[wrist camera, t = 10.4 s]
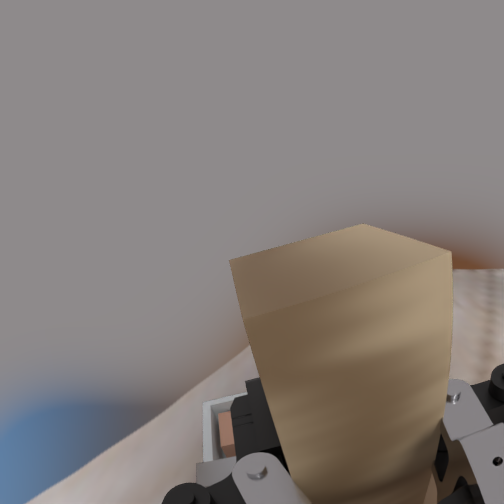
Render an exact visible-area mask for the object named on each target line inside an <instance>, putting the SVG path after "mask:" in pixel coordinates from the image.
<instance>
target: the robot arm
mask: <svg viewBox="0 0 504 504" xmlns="http://www.w3.org/2000/svg"><path fill="white" fill-rule="evenodd" d="M245 383H246V388H247V393H248V394H247V395H243V396H239V397H235V398H234V400H233V403H232V405H231V407H230V412H231V419H232V427H233V437H234V445H235V453H236V464H235V466H234V467H233V470H232V472H231V474H230V475H229V476H227V477H226V478H225V479H223V480H221V481H220V482H217V483H215V484H213V485H211V486H208V487H206V488H205V487H204V486H202V485H200V484H197V483H184V484H180V485H178V486H176V487H174V488H172V489H171V490H170V491H169V492H168V493H167V494H166V496H165V498H164V500H163V502H162V504H315V503H311V502H310V501H309V500H308V499H307V497H306V496H305V495H304V493H303V492H302V491H301V490H300V488H299V487H298V486H297V484H296V483H295V482H294V480H293V479H292V478H291V475H290V472H289V469H288V465H287V462H286V459H285V456H284V453H283V450H282V447H281V444H280V441H279V437H278V434H277V431H276V428H275V425H274V422H273V418H272V415H271V412H270V409H269V406H268V402H267V399H266V396H265V393H264V389H263V386H262V383H261V379H260V377H259V378H255V379H251V380H248V381H245ZM440 432H441V434H440V439H439V444H438V449H437V454H436V458H435V460H434V461H433V463H432V467H431V471H432V474H433V477H434V480H435V484H436V488H437V504H504V364H501V365H499V366H497V367H496V368H495V369H494V370H493V371H492V374H491V379H490V380H488V381H485V382H482V383H478V384H475V385H469V384H468V383H467V382H465V381H463V380H459V379H449V381H448V389H447V397H446V404H445V411H444V417H442V418H441V423H440Z"/></svg>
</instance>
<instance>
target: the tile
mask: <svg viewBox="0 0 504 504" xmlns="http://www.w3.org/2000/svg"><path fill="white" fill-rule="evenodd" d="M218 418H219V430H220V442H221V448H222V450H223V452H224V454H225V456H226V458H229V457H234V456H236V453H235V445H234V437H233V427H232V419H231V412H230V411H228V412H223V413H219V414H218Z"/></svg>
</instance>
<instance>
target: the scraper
mask: <svg viewBox="0 0 504 504" xmlns="http://www.w3.org/2000/svg"><path fill="white" fill-rule="evenodd" d="M229 262H230V266H231V270H232V275H233V279H234V284H235V288H236V293H237V297H238V301H239V305H240V310H241V314H242V318H243V322H244V325H245V329H246V332H247V336H248V339H249V343H250V346H251V349H252V353H253V356H254V359H255V363H256V366H257V369H258V373H259V376H260V379H261V383H262V386H263V389H264V393H265V396H266V399H267V402H268V406H269V409H270V412H271V415H272V418H273V422H274V425H275V428H276V431H277V434H278V437H279V441H280V444H281V447H282V450H283V453H284V456H285V459H286V462H287V465H288V469H289V472H290V475H291V478H292V479H293V480H294V482H295V483H296V484H297V486H298V487H299V488H300V490H301V491H302V492H303V493H304V495H305V496H306V497H307V499H308V500H309V501H310V502H311V503H315V504H423V503H424V500H425V496H426V493H427V489H428V486H429V482H430V478H431V475H432V471H431V467H432V463H433V461H434V460H435V458H436V454H437V449H438V444H439V439H440V434H441V432H440V423H441V418H442V417H444V411H445V404H446V397H447V389H448V381H449V371H450V359H451V345H452V324H453V275H452V254H451V251H448V250H445V249H442V248H439V247H436V246H433V245H430V244H427V243H424V242H421V241H418V240H415V239H411V238H408V237H405V236H402V235H399V234H396V233H392V232H389V231H386V230H383V229H380V228H376V227H373V226H369V225H366V224H360V225H356V226H352V227H349V228H345V229H342V230H338V231H334V232H330V233H327V234H323V235H320V236H316V237H312V238H309V239H305V240H301V241H297V242H294V243H290V244H286V245H283V246H279V247H276V248H272V249H268V250H264V251H261V252H257V253H253V254H250V255H246V256H243V257H239V258H235V259H231V260H229ZM235 464H236V456H234V457H229V458H224V459H219V460H213V461H208V462H202V463H196V483H197V484H200V485H202V486H204V487H205V488H206V487H208V486H211V485H213V484H215V483H217V482H220V481H221V480H223V479H225V478H226V477H227V476H229V475H230V474H231V472H232V470H233V467H234V466H235Z"/></svg>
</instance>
